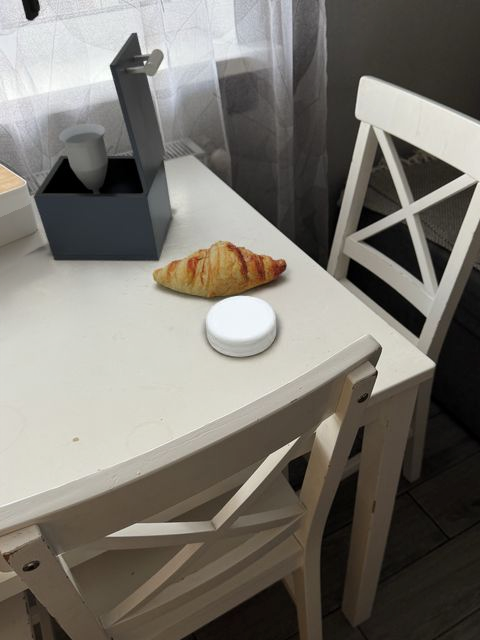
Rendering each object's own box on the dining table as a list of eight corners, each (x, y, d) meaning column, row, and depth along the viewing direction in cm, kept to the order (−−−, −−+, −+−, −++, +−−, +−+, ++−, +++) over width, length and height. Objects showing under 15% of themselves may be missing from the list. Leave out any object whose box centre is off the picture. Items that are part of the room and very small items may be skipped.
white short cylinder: (215, 309, 90) (213, 291, 88) (280, 315, 89) (280, 296, 87) (200, 355, 83) (197, 336, 81) (270, 361, 82) (270, 343, 79)
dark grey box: (54, 260, 101) (33, 196, 93) (77, 216, 111) (60, 155, 103) (158, 260, 100) (147, 196, 92) (172, 216, 110) (163, 155, 102)
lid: (109, 65, 79) (146, 61, 78) (131, 32, 89) (165, 29, 88) (144, 194, 91) (176, 191, 91) (160, 153, 102) (189, 150, 101)
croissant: (157, 313, 95) (147, 293, 88) (154, 257, 98) (145, 233, 91) (288, 301, 96) (290, 280, 88) (282, 246, 99) (283, 221, 91)
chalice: (105, 218, 109) (82, 120, 96) (134, 227, 106) (114, 128, 93) (77, 237, 104) (49, 137, 92) (106, 248, 101) (81, 146, 89)
